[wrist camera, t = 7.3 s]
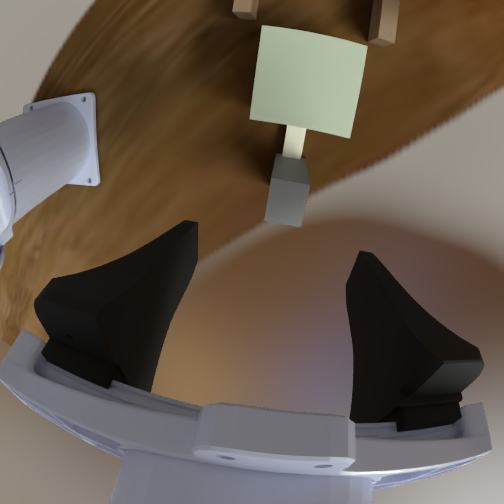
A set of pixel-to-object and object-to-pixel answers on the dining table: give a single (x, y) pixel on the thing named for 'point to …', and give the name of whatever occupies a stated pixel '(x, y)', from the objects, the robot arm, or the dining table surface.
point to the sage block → (303, 104)
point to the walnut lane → (380, 23)
